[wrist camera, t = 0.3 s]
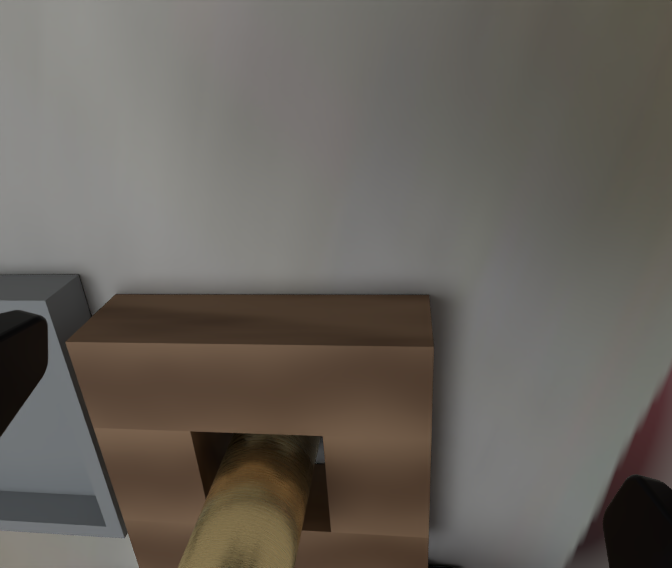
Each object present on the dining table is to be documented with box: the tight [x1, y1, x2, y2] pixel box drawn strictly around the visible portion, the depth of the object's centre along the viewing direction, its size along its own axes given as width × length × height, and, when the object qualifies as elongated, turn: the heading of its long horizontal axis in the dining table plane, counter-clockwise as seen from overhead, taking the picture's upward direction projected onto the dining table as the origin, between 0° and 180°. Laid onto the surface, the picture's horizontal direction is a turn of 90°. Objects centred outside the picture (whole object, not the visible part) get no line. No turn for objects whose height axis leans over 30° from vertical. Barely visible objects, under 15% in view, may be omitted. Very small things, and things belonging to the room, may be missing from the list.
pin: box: [178, 433, 321, 568], centre depth 22 cm, size 4×4×10 cm
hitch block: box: [65, 294, 434, 568], centre depth 24 cm, size 14×14×4 cm
